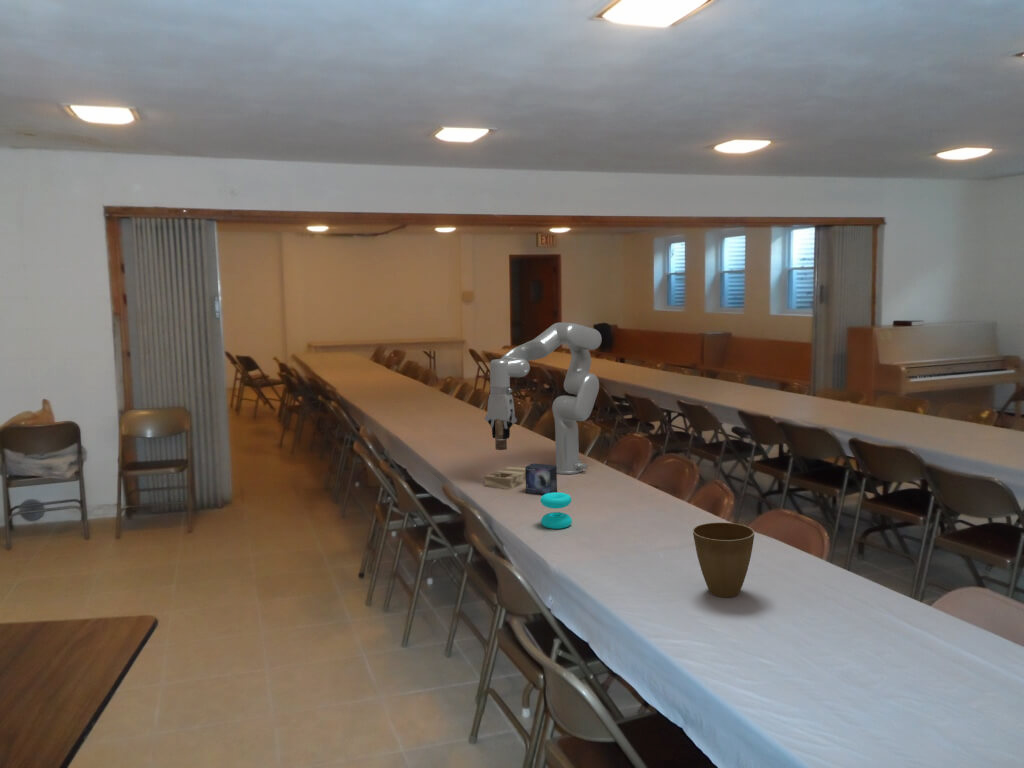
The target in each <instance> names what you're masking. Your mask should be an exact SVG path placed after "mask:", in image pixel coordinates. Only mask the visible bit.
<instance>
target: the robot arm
mask: <svg viewBox="0 0 1024 768" xmlns="http://www.w3.org/2000/svg"><path fill="white" fill-rule="evenodd" d="M602 341H603V340H602V334H601V333H600V331H599V330H597V329H596V328H593V327H588V326H585V325H581V324H577V323H575V322H574V323H573V322H562V321H561V322H555V323H553V324H551V326H549V327H548V328H547V329H545V330H544V331H543V332H541V333H540V334H539V335H538V336H536V337H535V338H533V339H532V340H530V341H529V340H528V341H527V342H525V343H523V344H520V345H518V346H516V347H514V348H512V349H510V350H509V351H508V352H506V353H505V354H504V355H502V356H501V358H498V359H497V358H496V359H492V360H491V361H490V363H489V378H490V379H489V381H490V383H489V384H490V389H489V391H490V394H488V400H487V414H486V415H485V417H484V420H485V421H486V422H487V423H488V424H489V425H490V428H491V434H492V438H493V439H495V420H496V419H500V420H501V421H503V422H504V426H505V429H504V439H509V438H510V435H511V428H512V426H513V425H514V424H516V423H517V422H518V419H517V418H516V415H515V414H516V413H515V411H516V410H515V403H514V398H513V394H511V393H513V388H511V384H510V383H511V380H510V379H511V378H523V377H526V376H527V375H528V374H529V372H530V370H531V366H530V363H529V362H531V361H535V360H540V359H543V358H546V357H547V356H548V355H550V354H551V353H553V352H554V351H555V350H556V349H558V348H560V346H561V345H563V344H566V345H567V346H568V348H569V350H570V351H569V352H570V355H571V359H570V362H569V367H568V369H567V372H566V375H565V379H564V381H563V389H564V391H565V392H567V393H568V394H570V395H560V396H557V397H556V398H555V399H554V400H553V402H552V407H551V408H552V410H551V411H552V414H553V419H554V428H555V429H554V431H555V433H554V434H555V435H554V436H555V465H556V466H557V475H558V474H559V475H575V474H580V473H582V472H583V471H584V470H587V469H588V464H587V463H582V460H581V459H580V457H579V456H580V454H579V451H580V449H579V448H580V447H579V446H580V445H579V443H580V442H579V425H578V423H577V422H584V421H586V420H588V418H589V417H590V416H591V414H592V411H593V408H594V406H595V402H596V399H597V397H598V394H599V390H600V381H599V378H598V376H597V375H596V374H594V373H591V372H590V369H591V367H592V357H591V353H590V351H591V350H592V351H593V350H596V349H598V348H599V347H600V346H601V344H602ZM571 394H572V395H575V396H572V395H571Z"/></svg>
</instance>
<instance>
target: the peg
mask: <svg viewBox="0 0 1024 768" xmlns="http://www.w3.org/2000/svg"><path fill="white" fill-rule="evenodd" d="M504 429H505V426H504V422H503V421H501V420H500V419H496V420H495V438H494V439H495V443H494V444H495V446H494V447H495V450H496V451H497V450H498V451H505V450H508V447H507V446H508V443H507V439H504Z"/></svg>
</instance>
